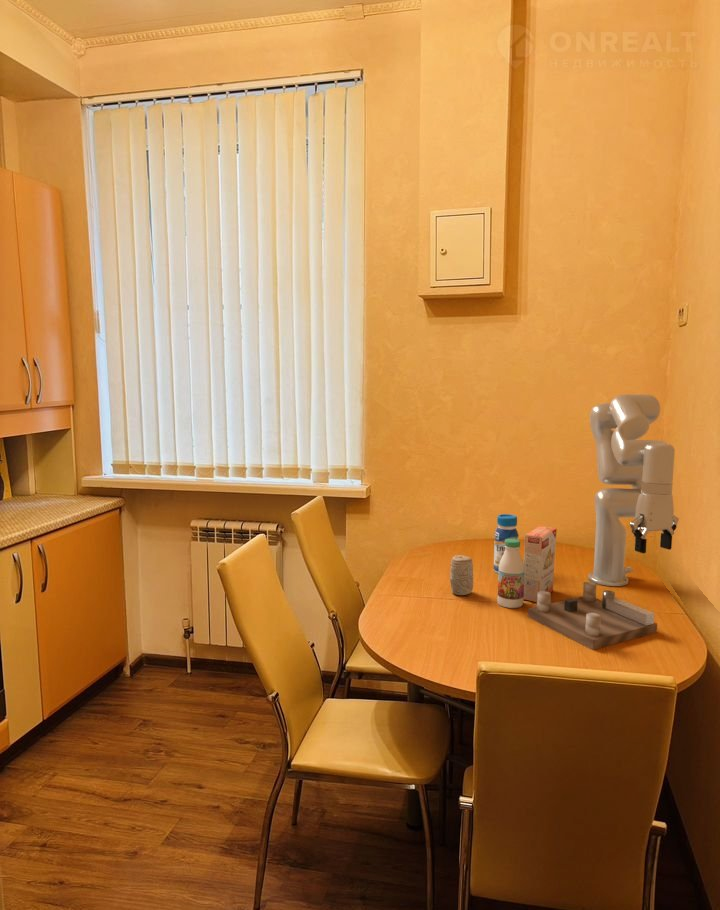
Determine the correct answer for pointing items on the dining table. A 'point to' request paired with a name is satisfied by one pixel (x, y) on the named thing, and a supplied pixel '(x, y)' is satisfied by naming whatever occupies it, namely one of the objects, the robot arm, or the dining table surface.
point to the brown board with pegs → (587, 619)
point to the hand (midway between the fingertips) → (653, 550)
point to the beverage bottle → (503, 536)
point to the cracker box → (539, 561)
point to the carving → (461, 575)
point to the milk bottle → (511, 576)
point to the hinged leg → (626, 609)
